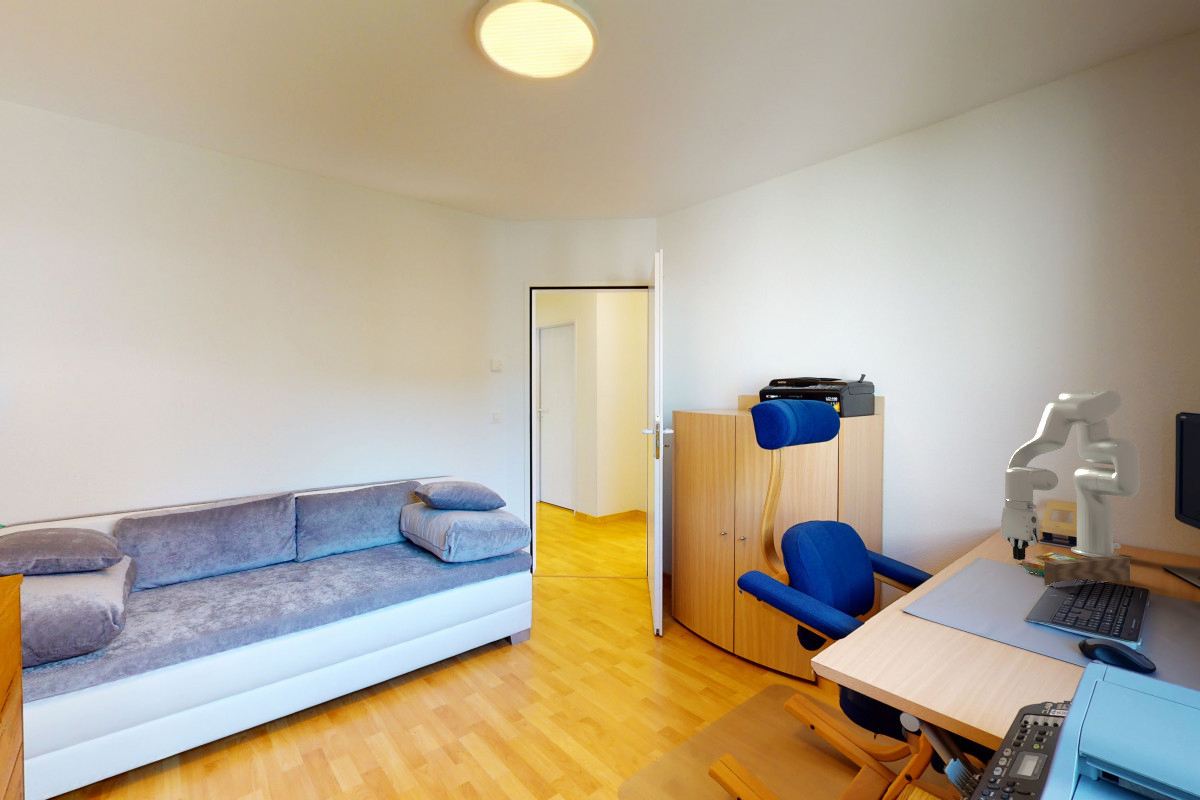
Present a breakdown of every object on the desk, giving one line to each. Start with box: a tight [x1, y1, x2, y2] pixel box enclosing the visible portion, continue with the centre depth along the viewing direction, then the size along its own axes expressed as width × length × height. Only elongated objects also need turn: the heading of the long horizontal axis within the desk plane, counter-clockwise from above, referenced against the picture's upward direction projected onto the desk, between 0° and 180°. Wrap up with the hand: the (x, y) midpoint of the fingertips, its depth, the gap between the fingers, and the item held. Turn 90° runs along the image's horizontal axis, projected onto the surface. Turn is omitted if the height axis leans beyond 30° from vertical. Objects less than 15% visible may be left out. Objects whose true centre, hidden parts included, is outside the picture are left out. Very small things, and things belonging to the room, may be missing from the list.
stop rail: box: [1043, 554, 1131, 586], centre depth 159 cm, size 30×3×7 cm, turn 104°
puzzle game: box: [1021, 552, 1080, 576], centre depth 169 cm, size 12×5×20 cm
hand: (1019, 559), depth 178 cm, fingers closed
